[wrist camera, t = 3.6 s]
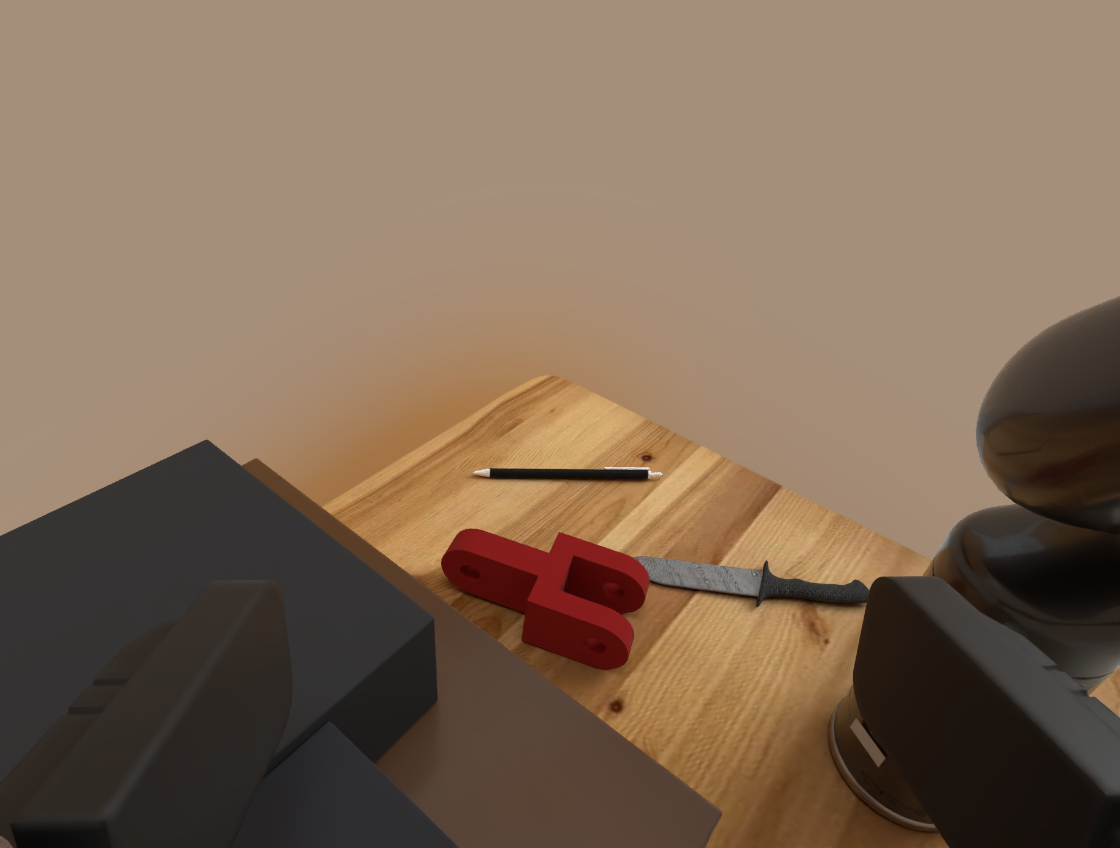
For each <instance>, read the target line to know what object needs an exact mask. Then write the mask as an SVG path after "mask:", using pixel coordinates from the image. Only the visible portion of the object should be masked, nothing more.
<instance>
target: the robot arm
mask: <svg viewBox="0 0 1120 848" xmlns="http://www.w3.org/2000/svg"><path fill="white" fill-rule="evenodd" d="M976 440H977V447H978V451H979V455H980V459H981V462H982V464H983V466H984V468H985V470H986V472H987V474H988V476H989V477H990V479H991V480H992V481H993V483H994V484H995V485H996V486H997V488H998V489H999V490H1000V491H1001V492H1002V493H1004V494H1005V495H1006V496H1007V497H1008V498H1010V499H1011V500H1012V501H1013V502H1014V503H1016V504H1014V505H1005V506H997V507H991V508H987V509H983V510H980V511H977V512H975V513H972V514H970V515H968V516H967V517H965V518H964V519H962V520H961V521H960V522H959V523H958V524H957V525H956V526H955V527H954V528H953V529H952V531H951V532H950V533H949V535H948V536H947V538H946V539H945V541H944V542H943V544H942V546H941V547H940V549H939V550H938V552H937V554H936V556H935V557H934V559H933V560H932V562H931V564H930V565H929V567H928V568H927V570H926V571H925V573H924V574H923V576H907V577H879V578H877V579H876V580H875V581H874V582H873V584H872V585H871V588H870V591H869V594H868V599H867V604H866V610H865V615H864V620H863V625H862V630H861V635H860V640H859V645H858V650H857V655H856V660H855V665H854V671H853V685H852V687H851V688H850V690H849V691H848V693H847V695H846V696H845V697H844V698H843V699H842V700H841V701H840V703H839V704H838V706H837V707H836V709H835V710H834V712H833V714H832V716H831V719H830V723H829V730H828V737H829V745H830V749H831V752H832V756H833V758H834V761H835V763H836V765H837V767H838V769H839V771H840V773H841V774H842V776H843V778H844V779H845V780H846V782H847V783H848V785H849V786H850V787H851V788H852V790H853V791H854V792H855V793H856V794H857V795H858V796H859V797H860V798H861V799H862V800H863V801H864V802H865V803H866V804H867V805H869V806H870V807H871V808H872V809H873V810H875V811H876V812H878V813H879V814H881V815H882V816H884V817H885V818H887V819H889V820H891V821H893V822H895V823H897V824H899V825H901V826H904V827H907V828H910V829H914V830H919V831H927V832H935V831H939V833H940V834H941V836H942V837H943V839H944V840H945V842H946V843H947V845H948V846H949V848H1120V718H1119V717H1118V716H1117V715H1116V714H1115V713H1113V712H1112V711H1111V710H1110V709H1109V708H1107V707H1106V706H1105V705H1104V704H1103V703H1102V702H1100V701H1099V700H1098V699H1097V698H1096V697H1089V695H1090V694H1091V693H1092V692H1093V691H1094V690H1095V689H1096V688H1097V687H1098V686H1099V685H1100V684H1101V683H1102V682H1103V681H1104V680H1105V679H1106V678H1107V677H1108V676H1109V675H1110V674H1112V673H1113V672H1114V670H1115V669H1117V668H1118V667H1119V666H1120V296H1119V297H1116V298H1114V299H1111V300H1108V301H1106V302H1103V303H1101V304H1098V305H1095V306H1093V307H1090V308H1088V309H1085V310H1083V311H1080V312H1078V313H1076V314H1074V315H1071V316H1069V317H1067V318H1065V319H1063V320H1061V321H1059V322H1057V323H1055V324H1054V325H1052V326H1050V327H1048V328H1047V329H1045V330H1044V331H1042V332H1041V333H1039V334H1038V335H1037V336H1036V337H1034V338H1033V339H1032V340H1031V341H1029V342H1028V343H1027V344H1025V345H1024V346H1023V347H1022V348H1021V349H1020V350H1019V351H1018V352H1017V353H1016V354H1015V355H1014V356H1013V357H1012V358H1011V359H1010V360H1009V361H1008V362H1007V364H1005V366H1004V367H1003V369H1002V370H1001V371H1000V373H999V374H998V375H997V377H996V378H995V379H994V381H993V382H992V384H991V386H990V388H989V389H988V392H987V393H986V395H985V398H984V400H983V403H982V405H981V408H980V412H979V416H978V420H977V428H976ZM292 692H293V679H292V670H291V661H290V653H289V645H288V637H287V628H286V620H285V612H284V604H283V596H282V592H281V588H280V586H279V584H278V583H277V582H276V581H275V580H215V581H212V582H211V583H209V584H208V585H207V586H206V587H205V589H204V590H203V591H202V592H201V593H200V595H199V596H198V597H197V598H196V599H195V601H194V602H193V603H192V604H191V606H190V607H189V608H188V609H187V610H186V612H185V613H184V614H183V615H182V616H181V618H180V619H179V620H178V621H163V622H161V623H160V624H158V625H157V626H155V627H154V628H152V629H150V630H149V631H147V632H146V633H144V634H143V635H141V636H140V637H138V638H137V639H135V640H133V641H132V642H130V643H129V644H127V645H126V646H124V647H123V648H122V649H121V650H120V651H119V652H118V653H117V654H116V656H115V657H114V658H113V659H112V660H111V661H110V662H109V663H108V664H107V665H106V667H105V668H104V669H103V670H102V671H101V672H100V673H99V674H98V675H97V677H96V678H95V679H94V684H93V686H87V688H86V689H85V690H84V691H83V692H82V693H81V694H80V695H79V696H78V698H77V699H76V700H75V701H74V702H73V703H72V704H71V705H70V706H69V711H68V713H67V715H61V716H60V717H59V719H58V720H57V721H56V722H55V723H54V724H53V725H52V726H51V727H50V728H49V730H48V731H47V732H46V733H45V734H44V735H43V736H42V737H41V738H40V739H39V741H38V742H37V743H36V744H35V745H34V746H33V747H32V748H31V749H30V751H29V752H28V753H27V754H26V755H25V756H24V757H23V758H22V759H21V760H20V762H19V763H18V764H17V765H16V766H15V767H14V768H13V769H12V770H11V772H10V773H9V774H8V775H7V776H6V777H5V778H4V779H3V780H2V781H1V783H0V848H232V845H233V843H234V841H235V839H236V837H237V834H238V832H239V830H240V828H241V826H242V823H243V821H244V819H245V817H246V815H247V812H248V810H249V808H250V806H251V803H252V801H253V799H254V797H255V795H256V792H257V790H258V788H259V786H260V784H261V781H262V779H263V777H264V775H265V773H266V770H267V768H268V766H269V764H270V761H271V759H272V757H273V755H274V753H275V750H276V748H277V746H278V744H279V742H280V739H281V737H282V735H283V733H284V730H285V728H286V725H287V722H288V718H289V714H290V709H291V702H292Z"/></svg>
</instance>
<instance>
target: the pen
mask: <svg viewBox="0 0 1120 848" xmlns="http://www.w3.org/2000/svg"><path fill="white" fill-rule="evenodd" d="M604 469H648V470H597V469H497V468H490V469H485V470H479V471H474V472H472V473H474V474H476V475H481V476H485V477H494V478H611V479H650V477H651V476H662V475H663V474H662V473H652V472H651V471H650V469H649V468H623V467H604Z"/></svg>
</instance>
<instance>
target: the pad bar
mask: <svg viewBox="0 0 1120 848" xmlns="http://www.w3.org/2000/svg"><path fill="white" fill-rule="evenodd" d="M215 580H275V581H276V582H277V583H278V584H279V586H280V588H281V592H282V596H283V604H284V612H285V620H286V628H287V637H288V645H289V653H290V661H291V670H292V679H293V692H292V702H291V709H290V714H289V718H288V722H287V725H286V728H285V730H284V733H283V735H282V737H281V739H280V742H279V744H278V746H277V748H276V750H275V753H274V755H273V757H272V759H271V761H270V764H269V766H268V768H267V770H266V773H265V775H264V777H263V779H262V781H261V784H260V786H259V788H258V790H257V792H256V795H255V797H254V799H253V801H252V803H251V806H250V808H249V810H248V812H247V815H246V817H245V819H244V821H243V823H242V826H241V828H240V830H239V832H238V834H237V837H236V839H235V841H234V843H233V845H232V848H459V847H458V846H457V845H456V844H455V843H454V842H453V841H452V840H451V839H450V838H449V837H448V836H447V835H446V834H445V833H444V832H443V831H442V830H441V829H440V828H439V827H438V826H437V825H436V824H435V823H434V822H433V821H432V820H431V819H430V818H429V817H428V816H427V815H426V814H425V813H424V812H422V811H421V810H420V809H419V808H418V807H417V806H416V805H415V804H414V803H413V802H412V801H411V800H410V799H409V798H408V797H407V796H406V795H405V794H404V793H403V792H402V791H401V790H400V789H399V788H398V787H397V786H396V785H395V784H394V783H393V782H392V781H391V780H390V779H389V778H388V777H387V776H386V775H385V774H384V773H383V772H382V771H381V770H380V769H379V768H378V767H377V766H376V765H375V764H373V763H374V762H375V761H376V760H377V759H378V758H380V757H381V756H382V755H383V754H384V753H385V752H386V751H387V750H388V749H389V748H390V747H391V746H392V745H393V744H394V743H395V742H396V741H397V740H398V739H399V738H400V737H401V736H402V735H403V734H404V733H405V732H406V731H407V730H408V729H409V728H410V727H411V726H412V725H413V724H414V723H415V722H416V721H417V720H418V719H419V718H420V717H421V716H422V715H423V714H424V713H425V712H426V711H427V710H428V709H429V708H431V707H432V706H433V705H434V704H435V703H436V702H437V700H438V688H437V665H436V643H435V620H434V617H433V616H432V615H431V614H430V613H428V612H427V611H426V610H425V609H423V608H422V607H421V606H420V605H418V604H417V603H416V602H414V601H413V600H412V599H411V598H409V597H408V596H407V595H405V594H404V593H403V592H402V591H400V590H399V589H398V588H397V587H395V586H394V585H393V584H391V583H390V582H389V581H388V580H386V579H385V578H384V577H382V576H381V575H380V574H379V573H377V572H376V571H375V570H374V569H372V568H371V567H370V566H368V565H367V564H366V563H365V562H363V561H362V560H361V559H360V558H358V557H357V556H356V555H354V554H353V553H352V552H351V551H349V550H348V549H347V548H345V547H344V546H343V545H342V544H340V543H339V542H338V541H337V540H335V539H334V538H333V537H331V536H330V535H329V534H328V533H326V532H325V531H324V530H322V529H321V528H320V527H319V526H317V525H316V524H315V523H314V522H312V521H311V520H310V519H308V518H307V517H306V516H305V515H303V514H302V513H301V512H299V511H298V510H297V509H296V508H294V507H293V506H292V505H291V504H289V503H288V502H287V501H285V500H284V499H283V498H282V497H280V496H279V495H278V494H276V493H275V492H274V491H273V490H271V489H270V488H269V487H268V486H266V485H265V484H264V483H262V482H261V481H260V480H259V479H257V478H256V477H255V476H253V475H252V474H251V473H250V472H248V471H247V470H246V469H245V468H243V467H242V466H241V465H239V464H238V463H237V462H236V461H234V460H233V459H232V458H230V457H229V456H228V455H227V454H225V453H224V452H223V451H221V450H220V449H219V448H218V447H216V446H215V445H214V444H213V443H211V442H210V441H209V440H204V441H202V442H200V443H198V444H196V445H194V446H191V447H189V448H187V449H185V450H183V451H181V452H179V453H176V454H174V455H172V456H170V457H168V458H166V459H164V460H162V461H160V462H157V463H155V464H153V465H151V466H149V467H147V468H144V469H142V470H140V471H138V472H136V473H134V474H132V475H130V476H127V477H125V478H123V479H121V480H119V481H117V482H115V483H112V484H111V485H108V486H106V487H104V488H102V489H100V490H97V491H96V492H93V493H91V494H89V495H87V496H85V497H83V498H80V499H79V500H76V501H74V502H72V503H70V504H68V505H66V506H63V507H61V508H59V509H57V510H55V511H53V512H50V513H48V514H46V515H44V516H42V517H40V518H38V519H36V520H33V521H31V522H29V523H27V524H25V525H23V526H21V527H18V528H16V529H14V530H12V531H10V532H8V533H6V534H4V535H2V536H0V783H1V781H2V780H3V779H4V778H5V777H6V776H7V775H8V774H9V773H10V772H11V770H12V769H13V768H14V767H15V766H16V765H17V764H18V763H19V762H20V760H21V759H22V758H23V757H24V756H25V755H26V754H27V753H28V752H29V751H30V749H31V748H32V747H33V746H34V745H35V744H36V743H37V742H38V741H39V739H40V738H41V737H42V736H43V735H44V734H45V733H46V732H47V731H48V730H49V728H50V727H51V726H52V725H53V724H54V723H55V722H56V721H57V720H58V719H59V717H60V716H61V715H67V713H68V711H69V706H70V705H71V704H72V703H73V702H74V701H75V700H76V699H77V698H78V696H79V695H80V694H81V693H82V692H83V691H84V690H85V689H86V688H87V686H93V684H94V679H95V678H96V677H97V675H98V674H99V673H100V672H101V671H102V670H103V669H104V668H105V667H106V665H107V664H108V663H109V662H110V661H111V660H112V659H113V658H114V657H115V656H116V654H117V653H118V652H119V651H120V650H121V649H122V648H123V647H124V646H126V645H127V644H129V643H130V642H132V641H133V640H135V639H137V638H138V637H140V636H141V635H143V634H144V633H146V632H147V631H149V630H150V629H152V628H154V627H155V626H157V625H158V624H160V623H161V622H163V621H178V620H179V619H180V618H181V616H182V615H183V614H184V613H185V612H186V610H187V609H188V608H189V607H190V606H191V604H192V603H193V602H194V601H195V599H196V598H197V597H198V596H199V595H200V593H201V592H202V591H203V590H204V589H205V587H206V586H207V585H208V584H209V583H211V582H212V581H215Z"/></svg>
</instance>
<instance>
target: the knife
mask: <svg viewBox="0 0 1120 848" xmlns="http://www.w3.org/2000/svg"><path fill="white" fill-rule="evenodd" d="M632 558H634V559H636V560H637V561H638V562H640V563H641V564H642V565H643V566H644V567H645V569H646V570H647V572H648V574H649V578H650V581H653V582H656V583H659V584H663V585H668V586H675V587H683V588H691V589H699V590H707V591H715V592H723V593H731V594H739V595H747V596H754V597H758V599H757V607H758V606H759V605H760V603H761V601H762V600H763V599H764V598H767V597H797V598H804V599H810V600H817V601H825V602H835V603H866V602H867V599H868V594H869V590H868V588H867V587H866V586H865V585H864V584H863V583H862V582H860V581H859V580H853V581H852V582H851V583H848V584H846V585H836V584H818V583H810V582H806V581H803V580H800V579H782V578H778V577H776V576H774V575H773V574H771V572H770V571H769V568H768V561H767V560H766V561H765V563H764V567H763V572H762V571H759V570H751V569H743V568H735V567H727V566H719V565H711V564H703V563H695V562H686V561H678V560H670V559H662V558H654V557H632Z"/></svg>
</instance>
